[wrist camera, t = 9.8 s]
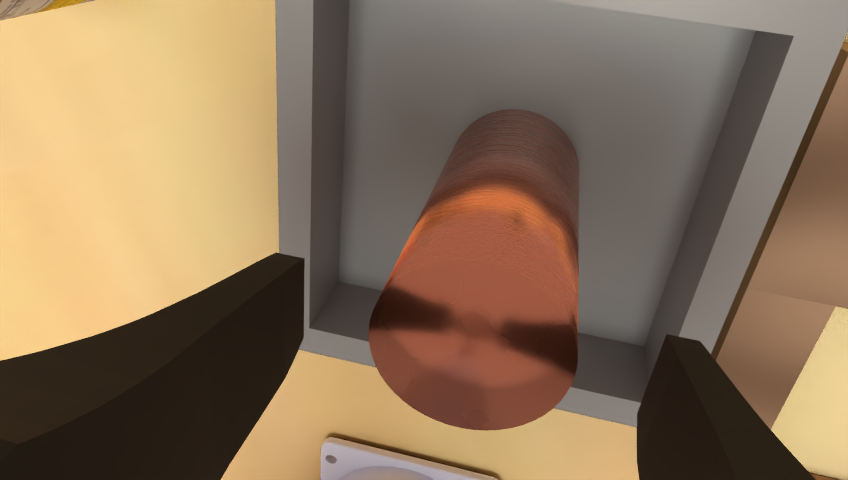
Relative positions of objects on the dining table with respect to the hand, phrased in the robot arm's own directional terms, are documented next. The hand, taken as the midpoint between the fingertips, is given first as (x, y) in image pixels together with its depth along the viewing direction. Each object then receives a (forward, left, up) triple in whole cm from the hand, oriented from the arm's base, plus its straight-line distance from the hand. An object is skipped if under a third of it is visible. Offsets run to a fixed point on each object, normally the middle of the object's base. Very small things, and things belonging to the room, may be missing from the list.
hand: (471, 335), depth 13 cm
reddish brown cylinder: (0, 0, -8) cm, 8 cm away
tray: (0, 0, -9) cm, 9 cm away
